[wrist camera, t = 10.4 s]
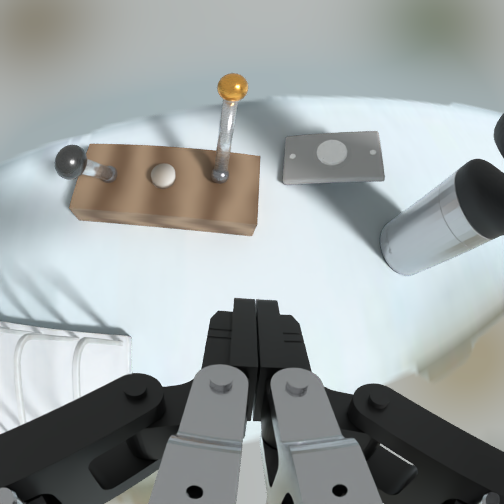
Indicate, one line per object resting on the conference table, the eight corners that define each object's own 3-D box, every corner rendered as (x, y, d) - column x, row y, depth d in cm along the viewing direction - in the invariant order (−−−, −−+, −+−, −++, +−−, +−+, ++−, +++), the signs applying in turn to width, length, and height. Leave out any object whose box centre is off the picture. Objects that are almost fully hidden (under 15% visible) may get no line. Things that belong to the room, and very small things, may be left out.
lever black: (124, 163, 35) (81, 141, 22) (121, 188, 36) (76, 178, 22) (102, 162, 35) (51, 142, 21) (99, 186, 35) (46, 177, 22)
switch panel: (255, 169, 43) (262, 148, 39) (251, 236, 40) (258, 220, 35) (97, 157, 40) (88, 136, 35) (79, 220, 37) (65, 204, 32)
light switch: (283, 132, 44) (378, 126, 39) (292, 154, 50) (378, 150, 45) (280, 177, 42) (385, 173, 37) (289, 198, 47) (383, 195, 42)
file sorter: (132, 336, 34) (88, 328, 20) (139, 466, 29) (109, 526, 14) (-17, 318, 30) (-87, 298, 16) (-11, 429, 25) (-75, 447, 10)
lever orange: (232, 177, 39) (250, 72, 29) (231, 190, 36) (250, 79, 27) (207, 174, 38) (220, 69, 28) (205, 188, 36) (218, 75, 26)
